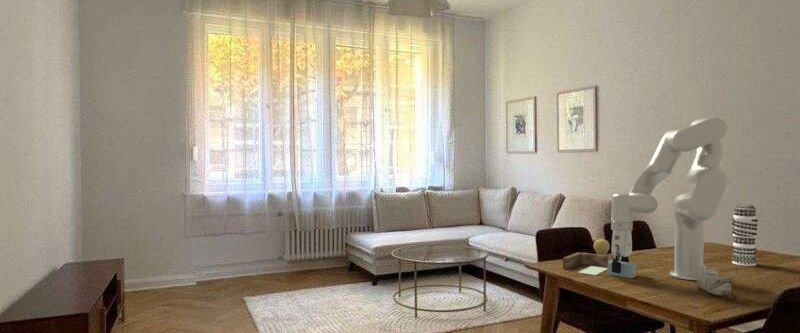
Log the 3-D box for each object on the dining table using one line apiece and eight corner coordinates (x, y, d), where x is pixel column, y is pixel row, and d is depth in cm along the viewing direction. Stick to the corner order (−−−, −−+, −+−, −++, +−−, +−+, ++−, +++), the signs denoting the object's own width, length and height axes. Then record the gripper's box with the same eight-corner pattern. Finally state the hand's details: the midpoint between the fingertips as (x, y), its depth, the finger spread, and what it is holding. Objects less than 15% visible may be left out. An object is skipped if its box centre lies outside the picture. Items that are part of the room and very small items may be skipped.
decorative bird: (706, 289, 176) (706, 267, 176) (740, 302, 160) (741, 279, 160) (691, 289, 176) (691, 268, 175) (724, 303, 159) (724, 279, 159)
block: (635, 276, 194) (636, 263, 194) (631, 278, 190) (632, 265, 190) (611, 273, 200) (611, 260, 200) (607, 275, 196) (607, 262, 196)
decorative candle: (749, 261, 220) (750, 203, 219) (762, 266, 211) (763, 206, 210) (726, 261, 221) (727, 203, 220) (738, 265, 212) (739, 205, 211)
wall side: (607, 266, 210) (608, 255, 210) (606, 267, 209) (606, 256, 208) (577, 262, 218) (578, 252, 218) (576, 263, 217) (576, 252, 216)
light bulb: (607, 264, 214) (607, 240, 214) (591, 262, 218) (591, 239, 218) (611, 262, 219) (611, 238, 219) (596, 260, 223) (596, 237, 223)
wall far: (582, 263, 217) (582, 252, 217) (567, 269, 205) (567, 258, 205) (577, 262, 218) (578, 252, 218) (562, 268, 206) (562, 257, 206)
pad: (608, 268, 206) (608, 268, 206) (595, 275, 195) (595, 274, 195) (591, 266, 211) (591, 265, 211) (577, 272, 199) (577, 272, 199)
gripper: (625, 229, 186) (623, 276, 186) (638, 224, 199) (637, 268, 199) (603, 227, 190) (602, 272, 191) (618, 222, 204) (617, 265, 204)
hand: (620, 270), depth 195 cm, fingers open, 9 cm apart
